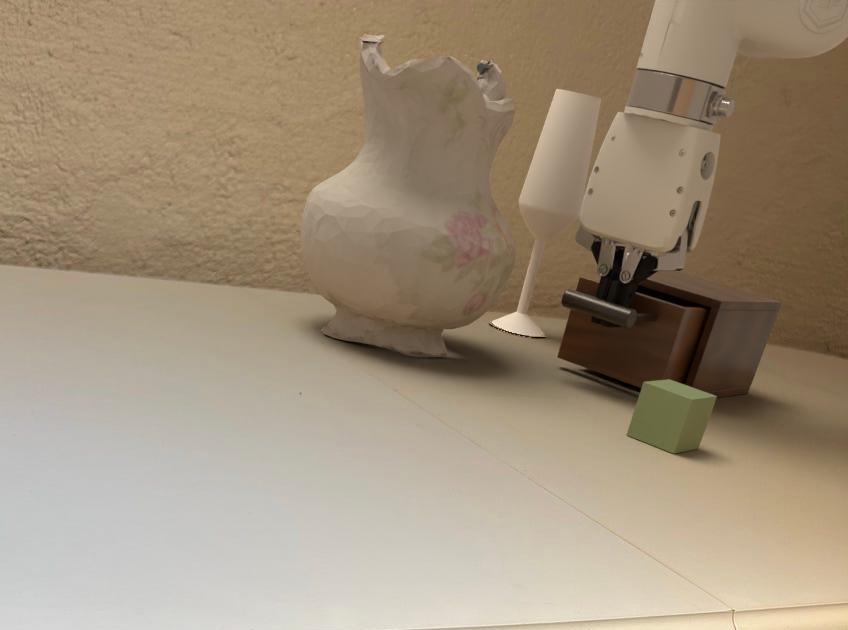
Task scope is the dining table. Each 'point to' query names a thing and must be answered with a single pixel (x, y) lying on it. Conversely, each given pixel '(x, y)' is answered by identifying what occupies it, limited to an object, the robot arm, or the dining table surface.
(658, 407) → the block
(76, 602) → the dining table surface
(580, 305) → the drawer
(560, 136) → the champagne flute
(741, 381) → the cabinet
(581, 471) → the dining table surface
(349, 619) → the dining table surface
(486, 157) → the ceramic pitcher
